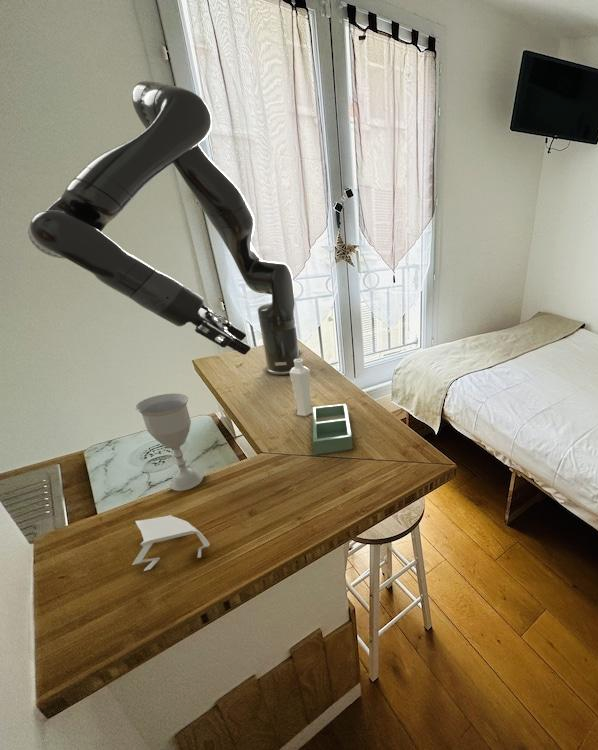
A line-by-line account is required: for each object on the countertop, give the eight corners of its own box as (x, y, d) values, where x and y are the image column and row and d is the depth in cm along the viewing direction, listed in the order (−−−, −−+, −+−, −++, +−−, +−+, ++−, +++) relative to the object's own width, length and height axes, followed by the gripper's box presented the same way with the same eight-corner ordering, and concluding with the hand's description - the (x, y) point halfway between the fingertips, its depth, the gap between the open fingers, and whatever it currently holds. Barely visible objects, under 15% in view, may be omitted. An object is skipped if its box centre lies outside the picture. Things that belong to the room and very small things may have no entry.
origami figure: (113, 578, 59) (102, 555, 57) (147, 533, 66) (138, 511, 64) (204, 570, 61) (197, 548, 59) (227, 528, 69) (221, 507, 67)
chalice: (159, 498, 73) (130, 415, 66) (166, 475, 79) (140, 396, 71) (207, 488, 77) (185, 408, 69) (211, 467, 82) (191, 391, 74)
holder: (313, 419, 101) (312, 407, 100) (347, 415, 104) (346, 403, 103) (314, 454, 89) (313, 441, 87) (352, 449, 92) (351, 436, 90)
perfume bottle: (318, 408, 106) (312, 357, 99) (309, 417, 102) (302, 364, 95) (301, 406, 106) (294, 355, 99) (292, 414, 102) (284, 362, 95)
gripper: (181, 293, 73) (261, 342, 84) (181, 276, 83) (253, 322, 95) (152, 323, 72) (237, 369, 84) (155, 302, 83) (231, 345, 94)
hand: (245, 344), depth 89 cm, fingers open, 8 cm apart
